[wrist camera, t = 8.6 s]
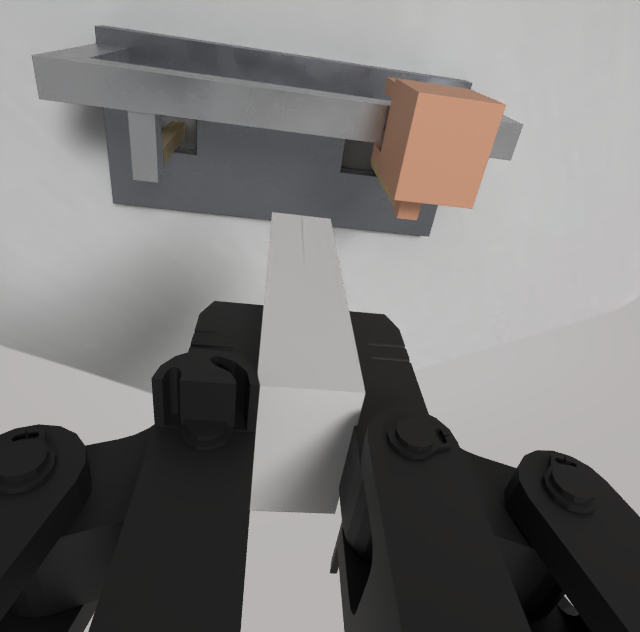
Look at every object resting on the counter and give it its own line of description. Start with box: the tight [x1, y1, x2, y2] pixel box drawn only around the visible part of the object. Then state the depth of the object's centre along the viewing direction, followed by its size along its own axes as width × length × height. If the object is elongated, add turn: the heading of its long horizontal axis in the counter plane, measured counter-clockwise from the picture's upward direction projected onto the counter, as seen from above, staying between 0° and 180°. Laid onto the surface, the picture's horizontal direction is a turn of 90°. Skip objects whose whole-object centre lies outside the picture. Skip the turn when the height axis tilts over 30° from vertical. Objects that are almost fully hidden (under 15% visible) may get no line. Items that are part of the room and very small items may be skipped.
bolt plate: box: [95, 25, 472, 236], centre depth 36 cm, size 26×12×2 cm, turn 82°
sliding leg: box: [370, 77, 506, 220], centre depth 28 cm, size 4×7×15 cm, turn 172°
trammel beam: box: [32, 44, 523, 183], centre depth 31 cm, size 26×6×11 cm, turn 82°
